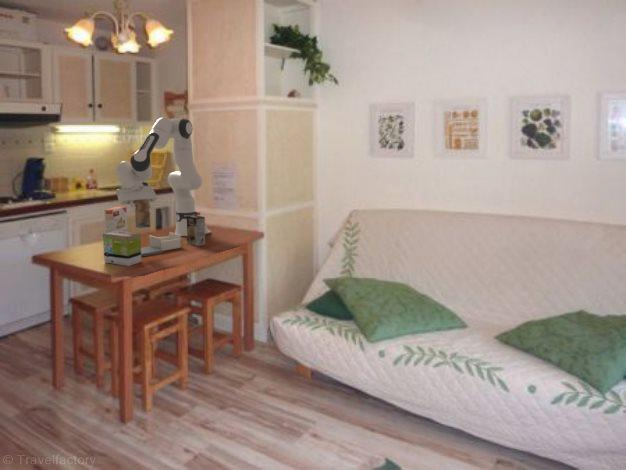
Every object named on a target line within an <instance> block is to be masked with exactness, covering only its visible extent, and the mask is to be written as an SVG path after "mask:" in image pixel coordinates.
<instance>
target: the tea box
mask: <svg viewBox="0 0 626 470" xmlns="http://www.w3.org/2000/svg"><path fill="white" fill-rule="evenodd" d="M102 241H103V244H102V245H103V259H104V263H106V264H115V265H121V266H126V267H127V266H128V267H129V266H133V265H135V264H138V263H141V262H142V257H141V248H142V247H141V245H142V244H141V241H142V240H141V232H140V233H139V232H131V231H130V232H129V231H127V232H123V231H113V232H110V233H106V232H105V233H103V234H102Z"/></svg>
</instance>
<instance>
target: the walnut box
mask: <svg viewBox="0 0 626 470" xmlns="http://www.w3.org/2000/svg"><path fill="white" fill-rule="evenodd" d="M134 205H137V207H138V209H137V210H134V212H135V213H134V214H135V228H137V229H143V228H145V229H146V228H150V227H151V216H150V215H151V214H150V213H151V212H150V208H149V200H136V201H135V204H134Z"/></svg>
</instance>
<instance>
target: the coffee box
mask: <svg viewBox="0 0 626 470" xmlns="http://www.w3.org/2000/svg"><path fill="white" fill-rule="evenodd" d="M205 223H206V220H205V216H201V215H191V216H187V236H186V237H187V238H186V241H187V244H189V245H192V246H195V247H199V246H204V245H206V234H205Z"/></svg>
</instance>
